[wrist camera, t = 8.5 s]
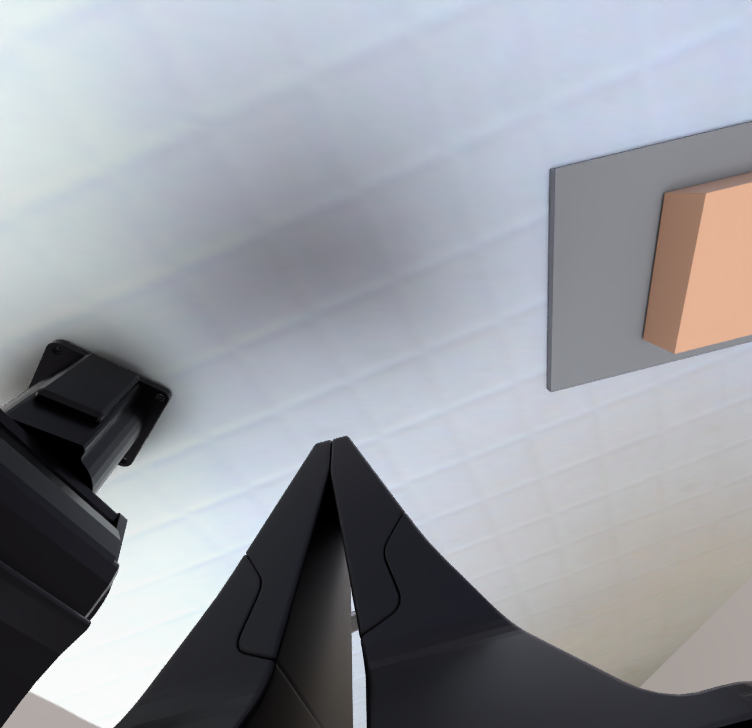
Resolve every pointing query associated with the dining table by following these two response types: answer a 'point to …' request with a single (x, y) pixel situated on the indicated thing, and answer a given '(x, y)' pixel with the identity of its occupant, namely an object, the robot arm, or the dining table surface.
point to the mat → (621, 251)
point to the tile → (703, 266)
